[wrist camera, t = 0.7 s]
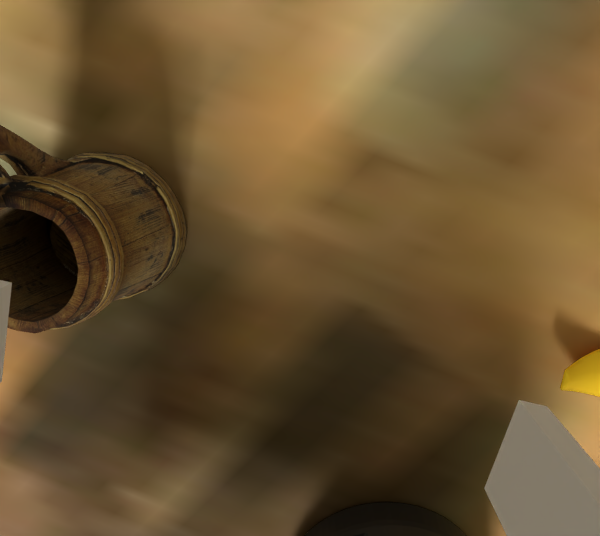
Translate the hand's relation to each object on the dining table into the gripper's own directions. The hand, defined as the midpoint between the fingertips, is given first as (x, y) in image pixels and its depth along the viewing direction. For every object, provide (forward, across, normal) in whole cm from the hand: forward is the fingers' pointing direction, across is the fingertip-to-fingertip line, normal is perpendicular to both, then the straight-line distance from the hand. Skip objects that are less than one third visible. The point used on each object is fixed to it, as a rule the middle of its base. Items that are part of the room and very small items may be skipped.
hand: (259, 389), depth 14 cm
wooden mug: (+21, +12, 0) cm, 24 cm away
